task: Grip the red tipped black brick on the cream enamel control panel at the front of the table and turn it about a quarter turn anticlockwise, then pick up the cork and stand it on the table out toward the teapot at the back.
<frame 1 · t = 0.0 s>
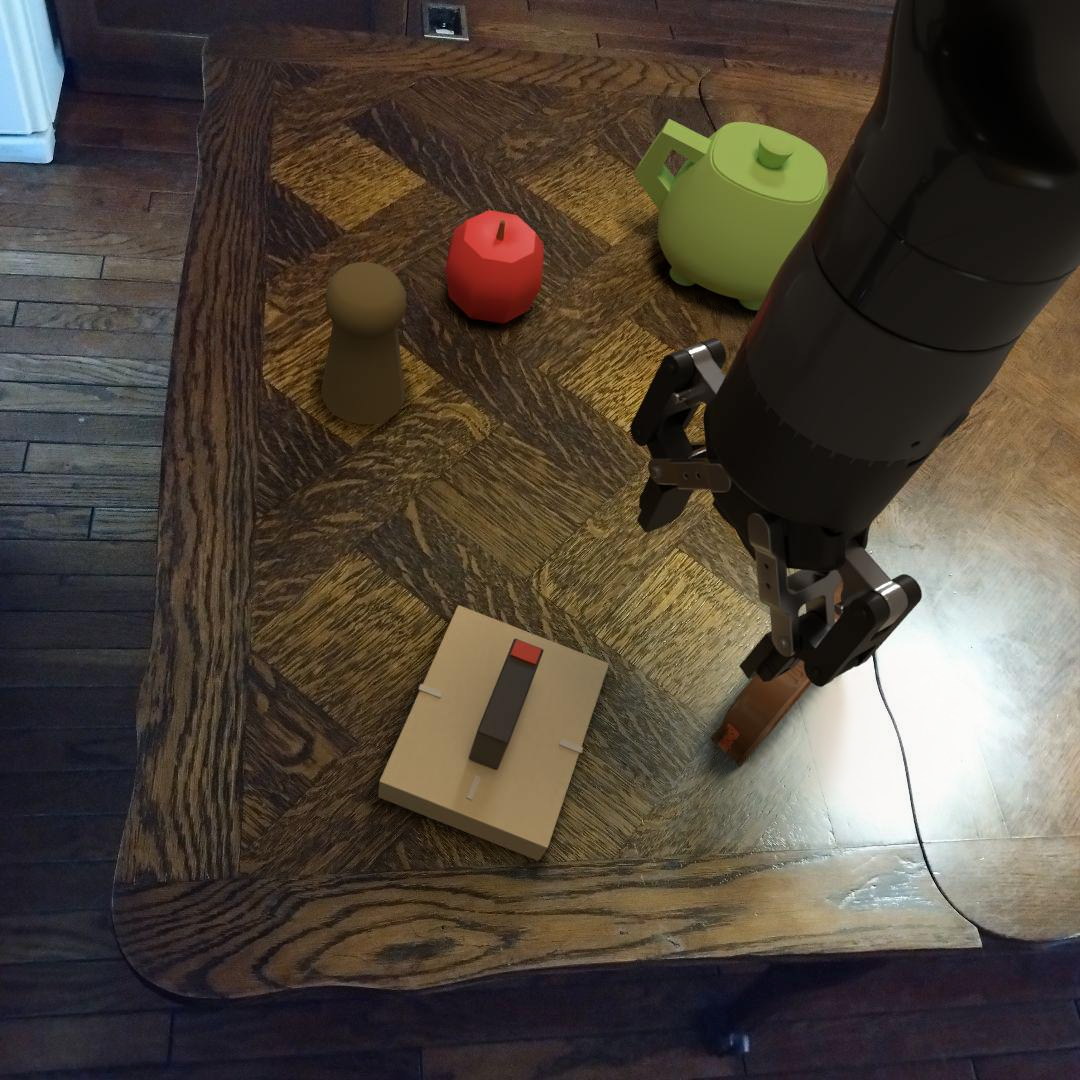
hand: (706, 591, 47), 18 cm above the table, tool pointing down, fingers open, 8 cm apart
tin: (771, 692, 65), on the table
apple: (488, 302, 79), on the table
teapot: (725, 266, 86), on the table
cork: (363, 393, 72), on the table
red tipped black brick: (506, 703, 55), point 5 cm above the table, hinge at 0.0°
panel: (493, 736, 60), on the table
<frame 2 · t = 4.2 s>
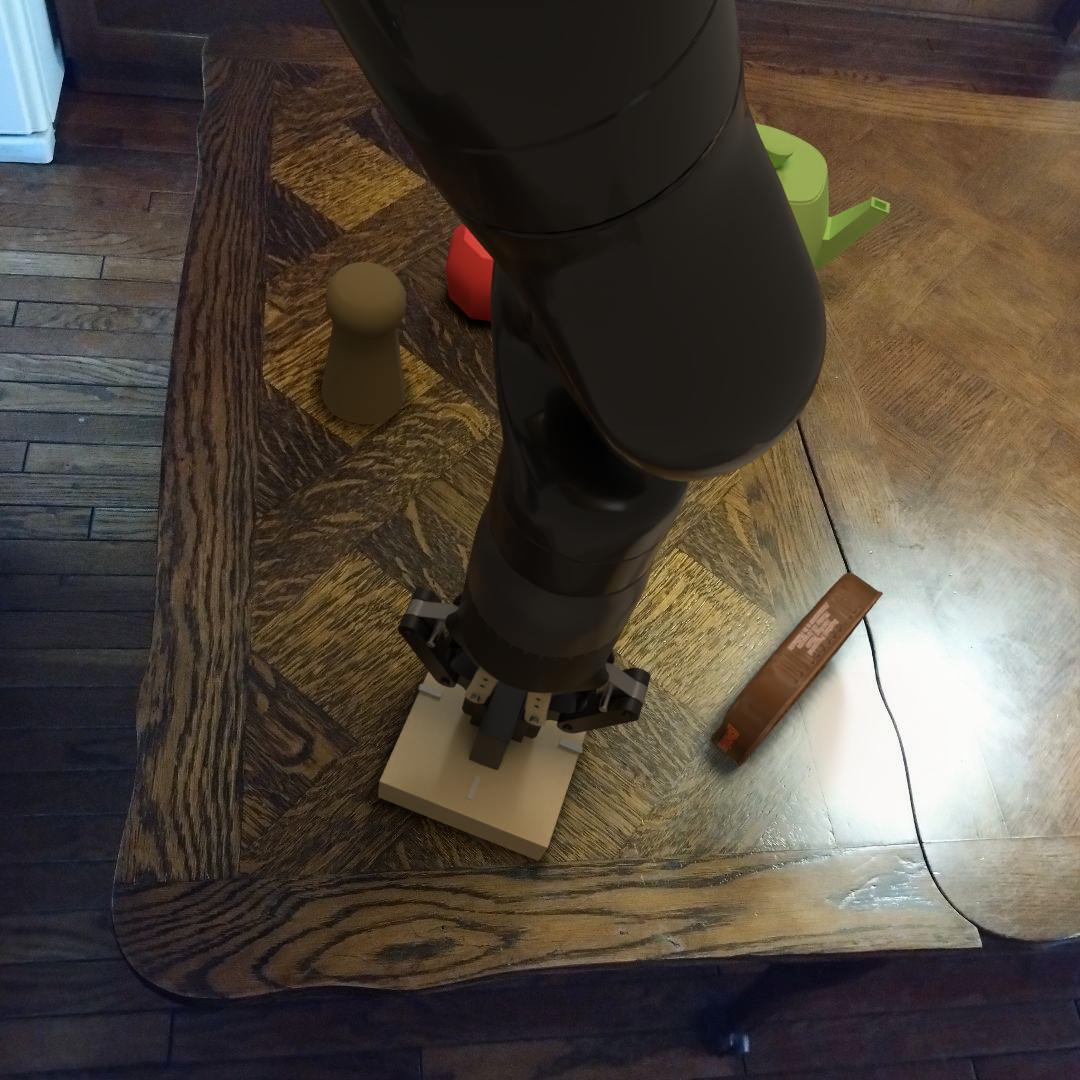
hand: (501, 718, 57), 3 cm above the table, tool pointing down, fingers closed on red tipped black brick, 2 cm apart
red tipped black brick: (506, 703, 55), point 5 cm above the table, hinge at 0.8°, touching gripper
everything else where it was.
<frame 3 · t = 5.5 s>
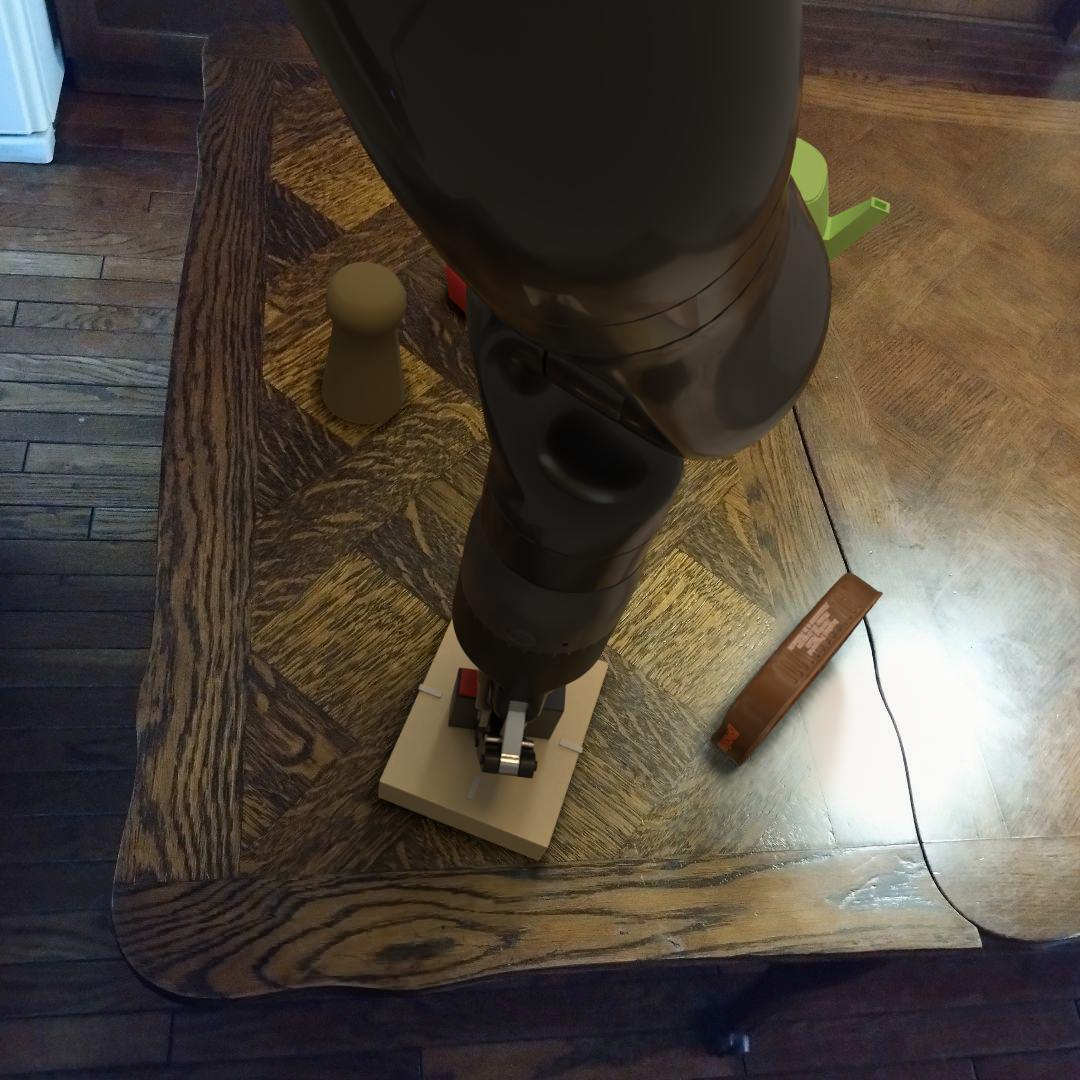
hand: (494, 717, 57), 3 cm above the table, tool pointing down, fingers closed on red tipped black brick, 2 cm apart
red tipped black brick: (506, 703, 55), point 5 cm above the table, hinge at 104.8°, touching gripper
everything else where it was.
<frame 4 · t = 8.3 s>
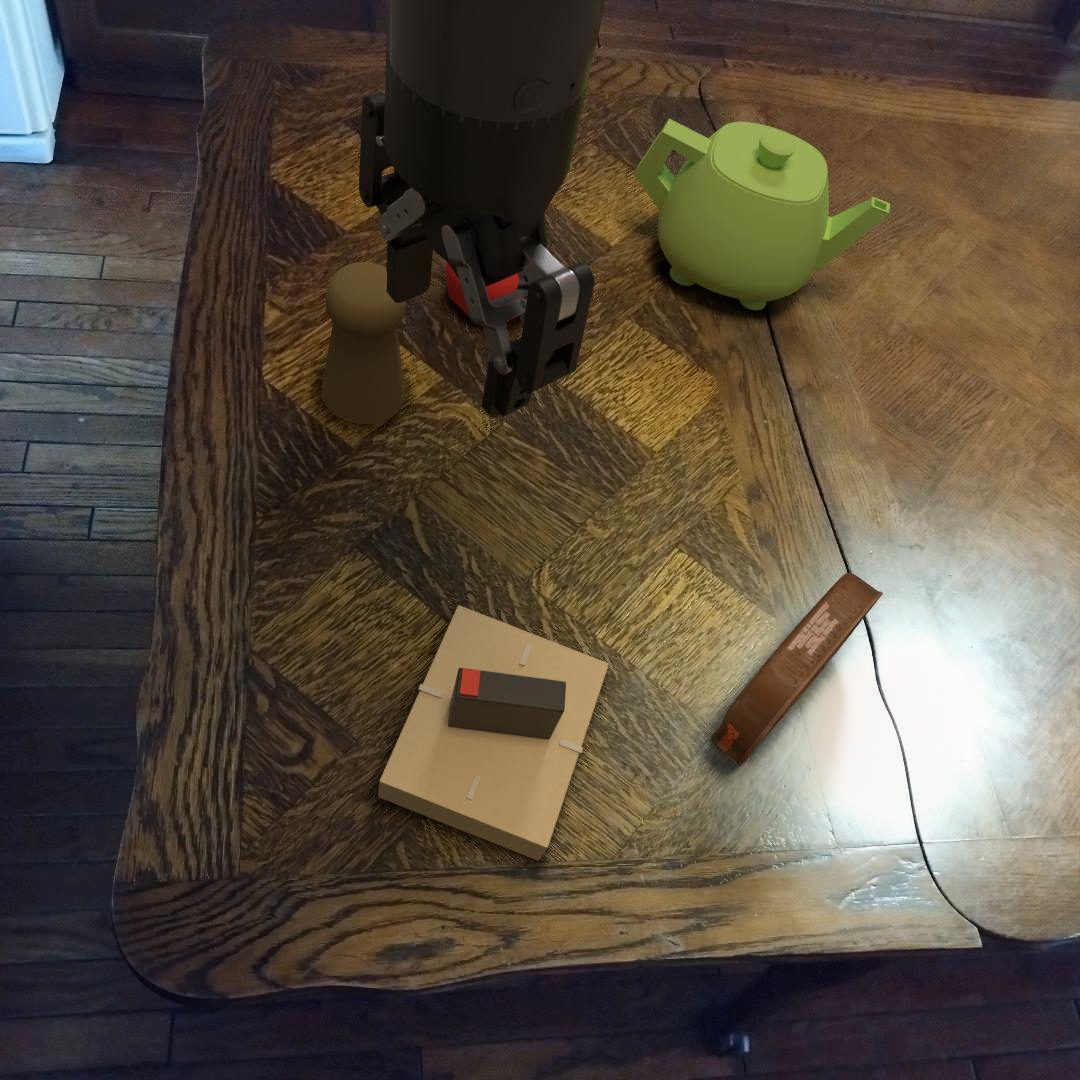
hand: (453, 348, 50), 20 cm above the table, tool pointing down, fingers open, 8 cm apart
red tipped black brick: (506, 703, 55), point 5 cm above the table, hinge at 104.9°
everything else where it was.
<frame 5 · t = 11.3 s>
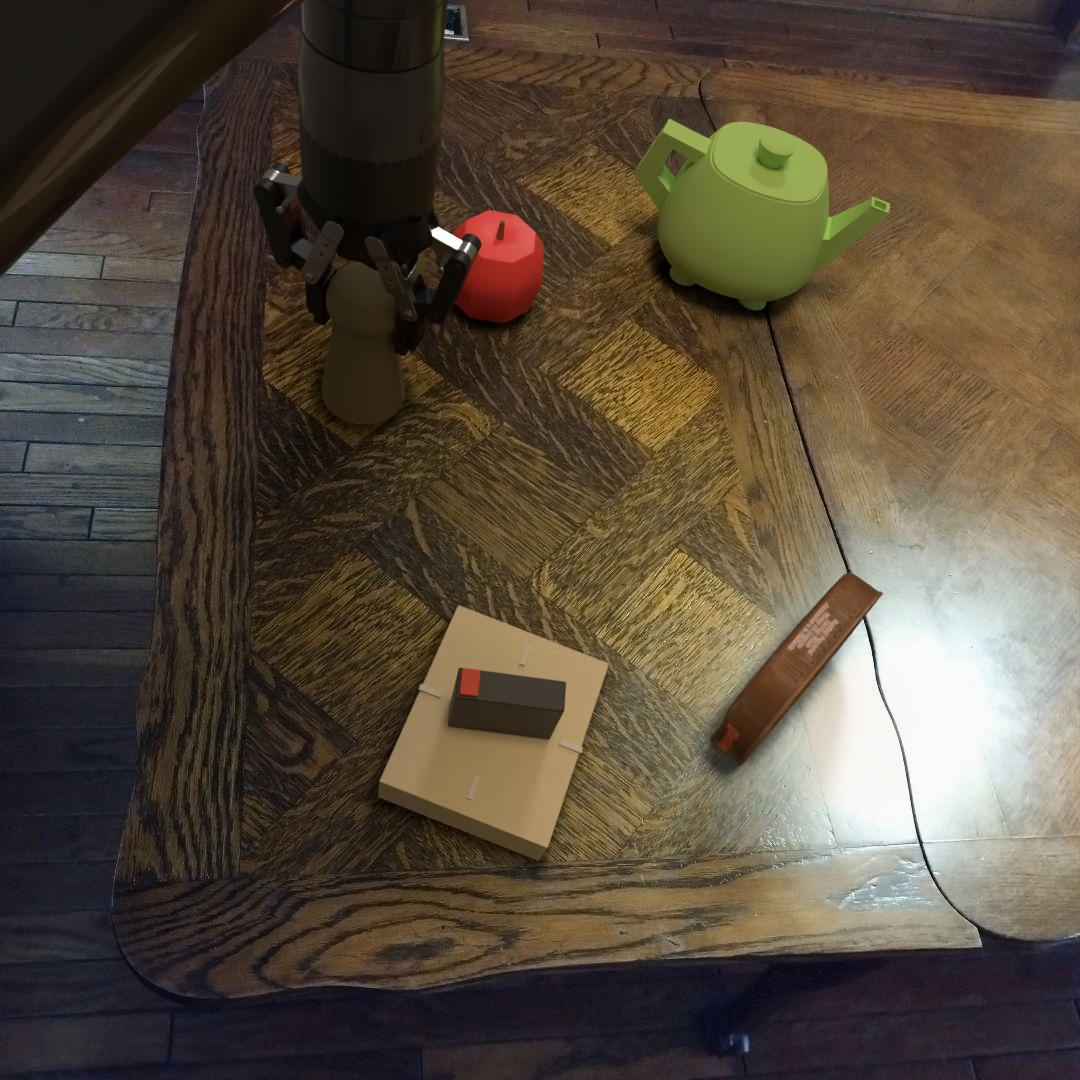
hand: (365, 330, 67), 6 cm above the table, tool pointing down, fingers closed on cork, 5 cm apart
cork: (363, 393, 72), on the table, touching gripper
everything else where it was.
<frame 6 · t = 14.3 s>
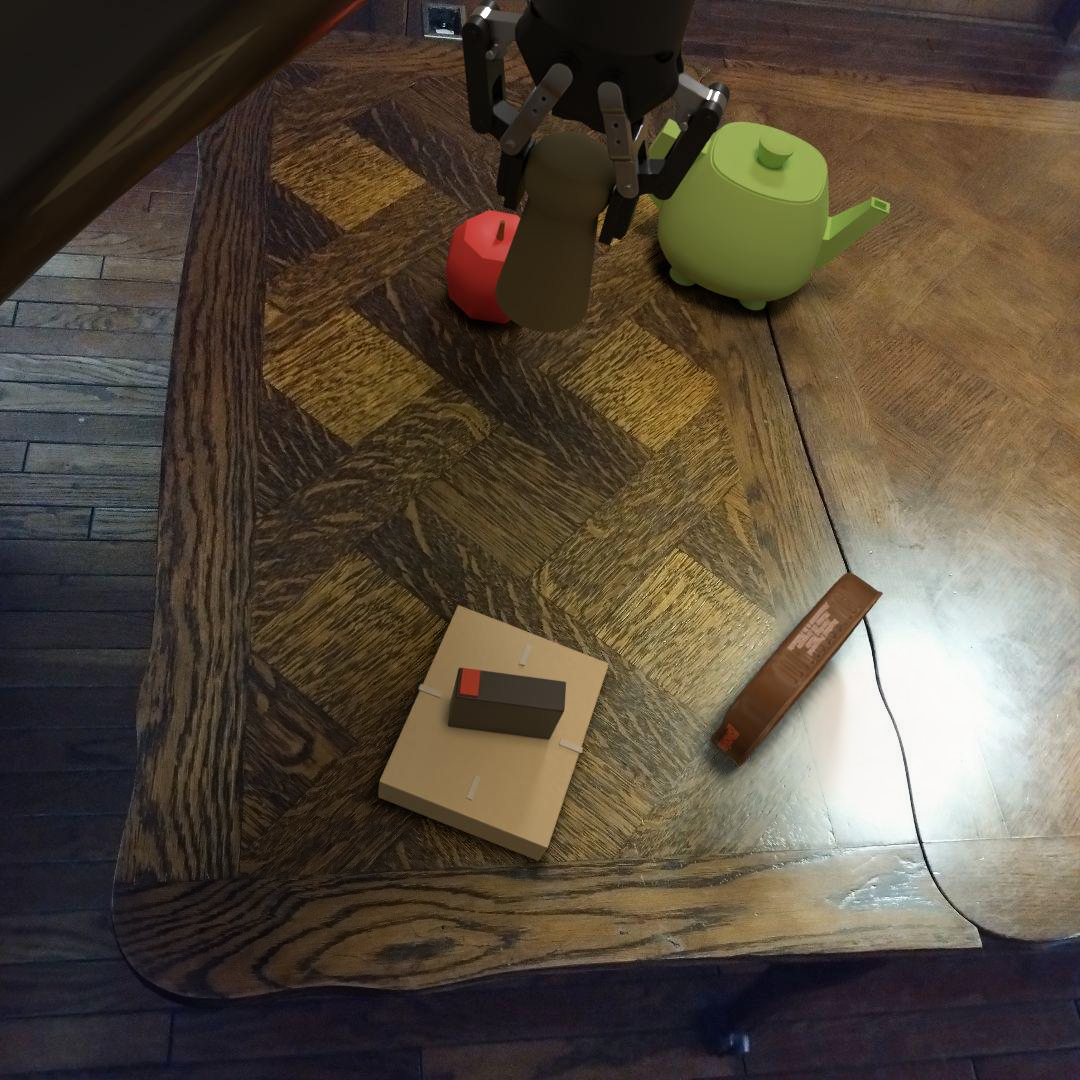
hand: (560, 217, 57), 19 cm above the table, tool pointing down, fingers closed on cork, 5 cm apart
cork: (541, 299, 63), point 12 cm above the table, touching gripper
everything else where it was.
when the fingers open (6 cm above the table, at t = 17.6 s): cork stays where it is, on the table.
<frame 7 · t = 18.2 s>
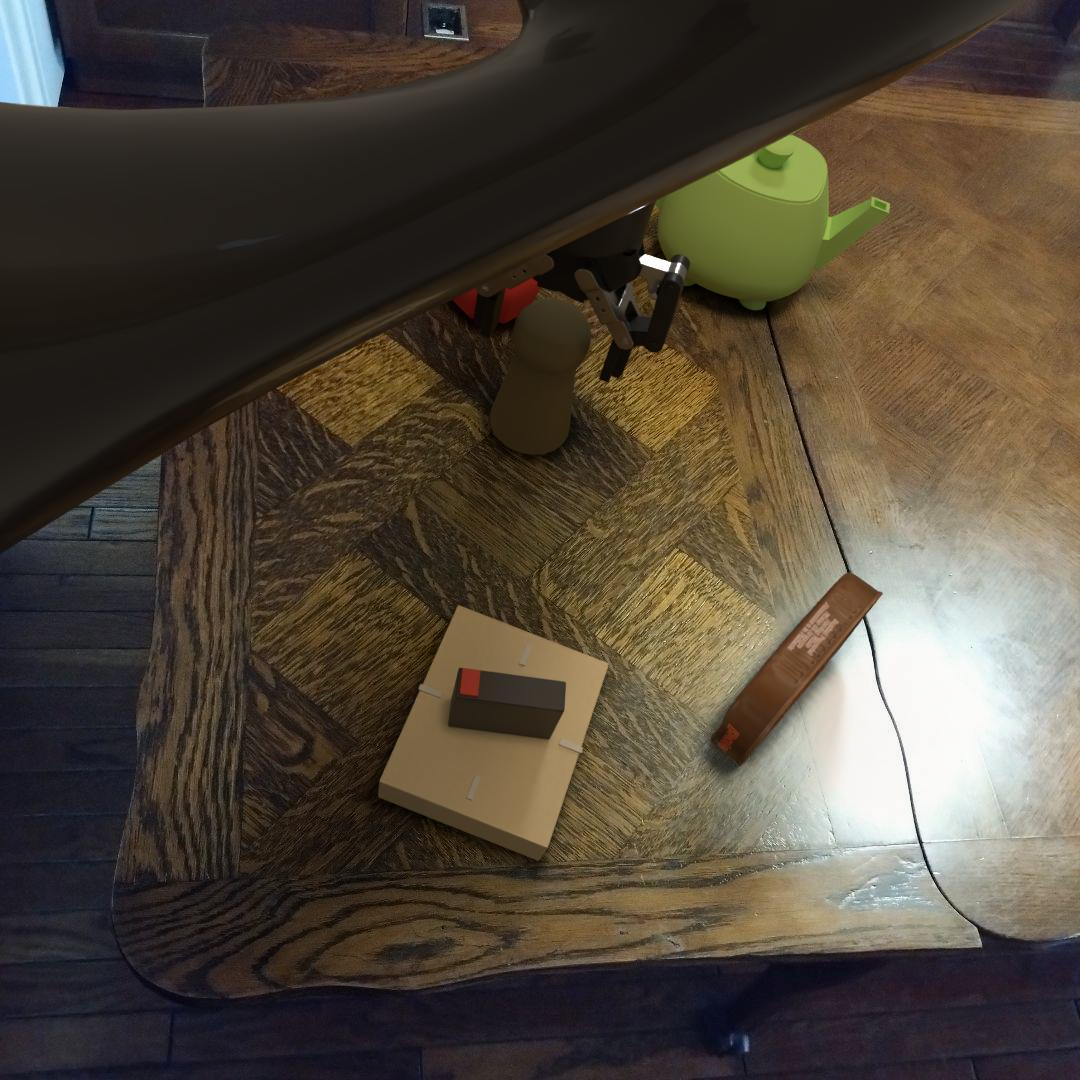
hand: (547, 350, 67), 8 cm above the table, tool pointing down, fingers open, 8 cm apart
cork: (529, 423, 73), on the table
everything else where it was.
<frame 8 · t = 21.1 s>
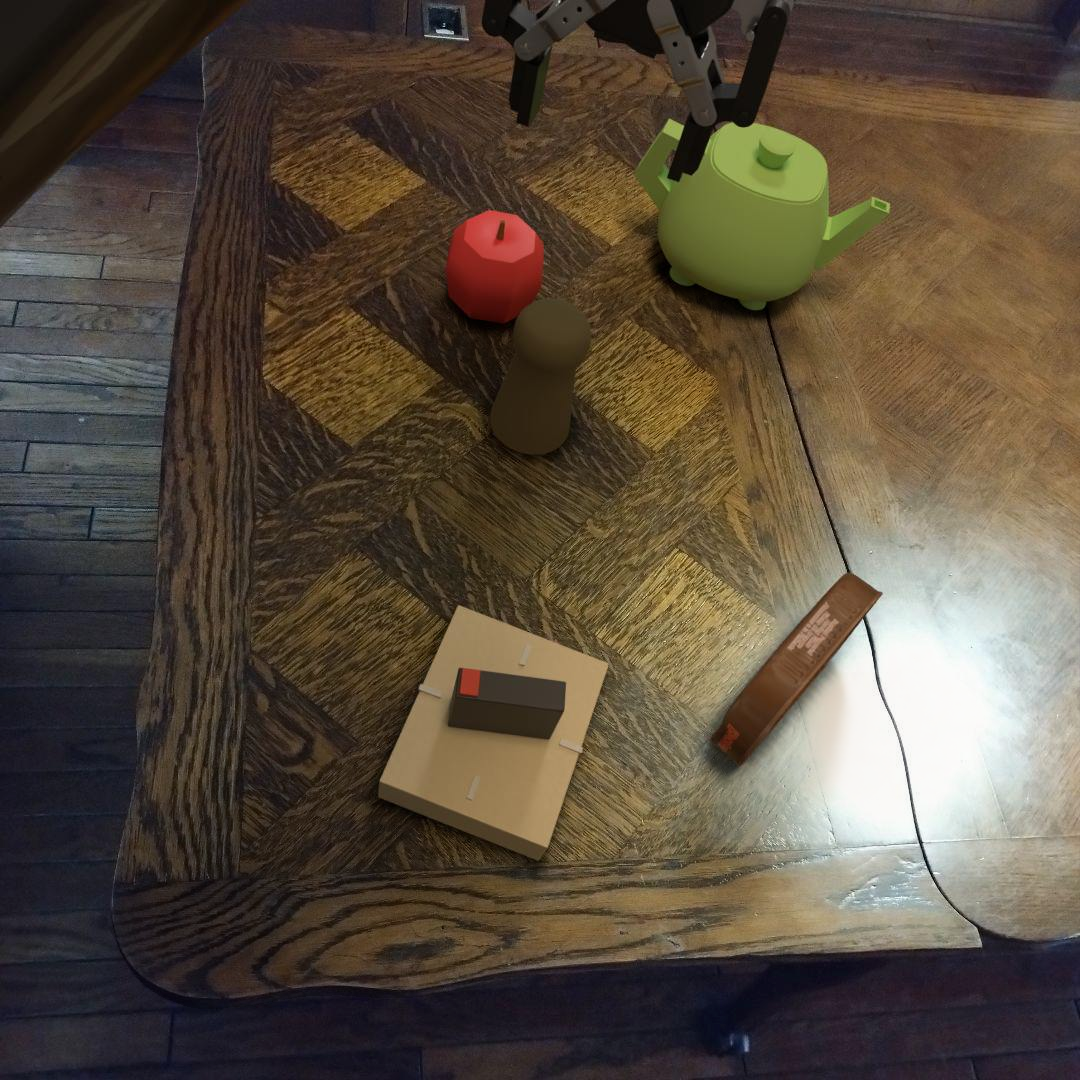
hand: (601, 144, 53), 24 cm above the table, tool pointing down, fingers open, 8 cm apart
nothing on the table moved.
at the end: red tipped black brick at +105° (first picture: +0°); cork inside the target area on the table beside the teapot (0.1 cm from its centre), on the table; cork tilted 0° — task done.
